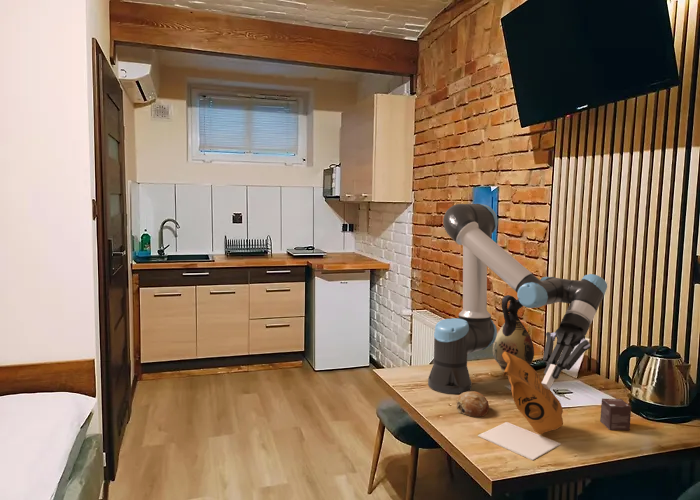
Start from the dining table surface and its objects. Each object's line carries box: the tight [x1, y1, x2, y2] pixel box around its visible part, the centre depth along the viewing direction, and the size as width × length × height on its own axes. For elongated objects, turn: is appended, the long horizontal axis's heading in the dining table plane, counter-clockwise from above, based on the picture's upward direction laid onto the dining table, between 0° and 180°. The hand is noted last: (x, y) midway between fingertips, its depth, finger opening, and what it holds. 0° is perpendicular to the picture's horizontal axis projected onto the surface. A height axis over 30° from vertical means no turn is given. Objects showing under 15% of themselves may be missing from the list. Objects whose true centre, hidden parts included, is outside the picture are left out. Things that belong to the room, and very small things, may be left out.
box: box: [599, 398, 632, 431], centre depth 152 cm, size 6×6×7 cm
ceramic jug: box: [492, 295, 535, 373], centre depth 198 cm, size 17×15×30 cm
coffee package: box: [502, 352, 564, 435], centre depth 146 cm, size 10×12×22 cm
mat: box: [477, 421, 561, 461], centre depth 142 cm, size 17×14×1 cm
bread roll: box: [456, 390, 490, 418], centre depth 161 cm, size 10×10×8 cm
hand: (545, 386), depth 143 cm, fingers closed
